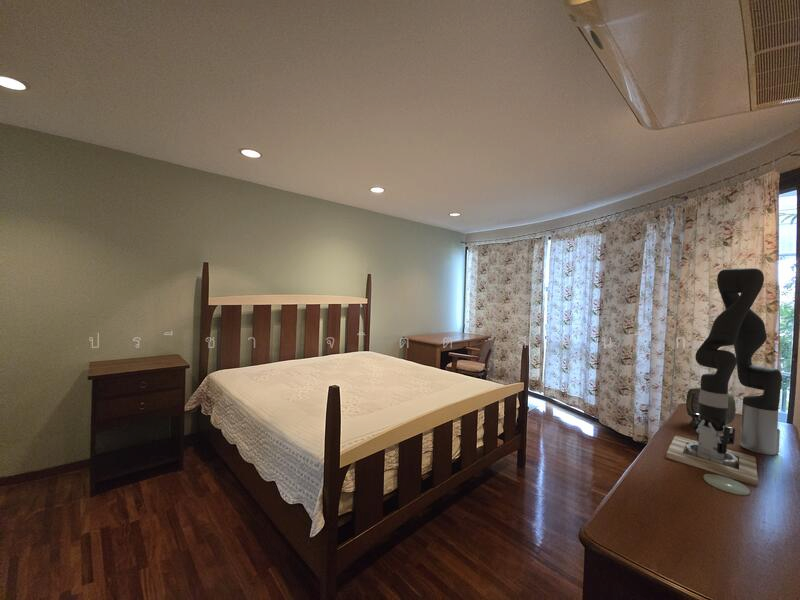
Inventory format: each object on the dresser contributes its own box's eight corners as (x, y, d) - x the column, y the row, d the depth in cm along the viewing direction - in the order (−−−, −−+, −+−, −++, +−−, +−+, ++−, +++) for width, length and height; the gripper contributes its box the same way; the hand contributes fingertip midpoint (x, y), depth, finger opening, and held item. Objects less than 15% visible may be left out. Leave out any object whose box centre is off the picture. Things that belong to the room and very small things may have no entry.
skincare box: (696, 457, 115) (698, 424, 115) (702, 454, 116) (704, 423, 116) (718, 465, 109) (720, 431, 109) (725, 463, 111) (726, 430, 111)
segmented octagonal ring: (712, 452, 119) (712, 444, 119) (748, 471, 106) (748, 462, 106) (677, 450, 120) (677, 442, 120) (708, 468, 107) (709, 460, 107)
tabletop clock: (685, 423, 147) (687, 371, 147) (695, 420, 151) (697, 370, 150) (726, 436, 134) (729, 379, 134) (736, 433, 137) (739, 377, 137)
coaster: (726, 476, 102) (726, 474, 102) (760, 496, 92) (760, 494, 92) (694, 474, 103) (695, 473, 103) (725, 494, 93) (725, 492, 93)
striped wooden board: (674, 440, 128) (675, 435, 128) (755, 462, 112) (755, 457, 112) (666, 457, 114) (666, 452, 114) (757, 486, 97) (757, 479, 97)
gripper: (744, 411, 105) (742, 459, 105) (705, 397, 119) (703, 439, 120) (721, 410, 106) (719, 457, 106) (685, 396, 120) (683, 438, 120)
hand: (710, 448), depth 113 cm, fingers closed on skincare box, 7 cm apart
